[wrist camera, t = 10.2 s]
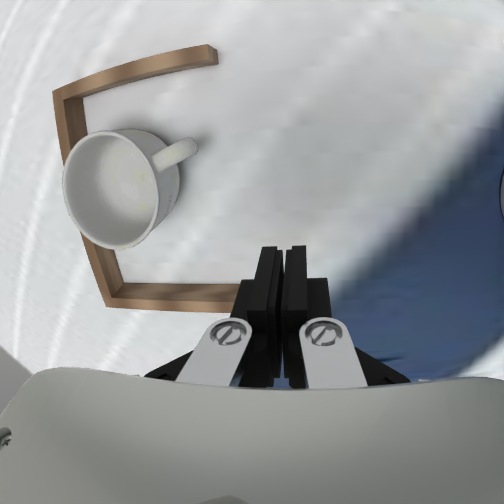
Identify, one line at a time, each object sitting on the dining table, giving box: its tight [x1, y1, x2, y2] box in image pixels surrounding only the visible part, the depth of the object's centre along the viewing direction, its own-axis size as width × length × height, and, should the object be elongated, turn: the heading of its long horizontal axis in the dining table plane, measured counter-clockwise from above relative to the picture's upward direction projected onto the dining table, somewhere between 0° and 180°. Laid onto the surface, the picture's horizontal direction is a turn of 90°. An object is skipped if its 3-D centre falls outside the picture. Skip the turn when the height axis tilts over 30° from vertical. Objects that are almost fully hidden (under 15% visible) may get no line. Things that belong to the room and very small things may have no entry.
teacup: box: [62, 129, 198, 250], centre depth 27 cm, size 14×11×8 cm
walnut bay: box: [52, 44, 240, 313], centre depth 30 cm, size 18×27×4 cm, turn 5°
